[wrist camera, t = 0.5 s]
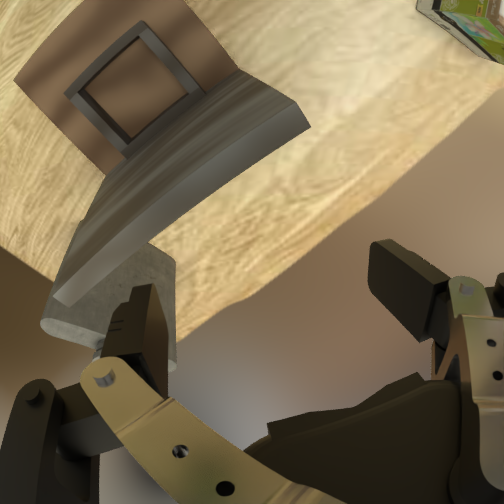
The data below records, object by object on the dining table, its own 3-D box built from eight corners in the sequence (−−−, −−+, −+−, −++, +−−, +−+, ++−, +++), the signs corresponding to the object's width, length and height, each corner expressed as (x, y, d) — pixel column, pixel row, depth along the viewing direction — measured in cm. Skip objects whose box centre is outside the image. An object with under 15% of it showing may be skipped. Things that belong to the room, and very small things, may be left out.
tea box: (413, 11, 26) (498, 21, 14) (425, -41, 20) (506, -43, 8) (478, 58, 30) (550, 86, 18) (488, 11, 24) (560, 30, 13)
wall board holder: (16, 79, 23) (-105, 141, 7) (141, -43, 18) (86, -123, 2) (116, 181, 35) (69, 308, 19) (246, 79, 30) (311, 127, 15)
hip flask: (75, 231, 38) (32, 349, 23) (84, 210, 37) (37, 329, 21) (169, 274, 46) (170, 393, 31) (182, 256, 45) (187, 379, 29)
